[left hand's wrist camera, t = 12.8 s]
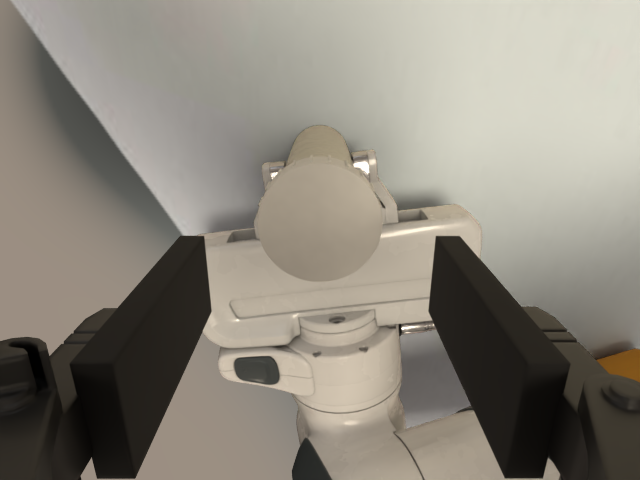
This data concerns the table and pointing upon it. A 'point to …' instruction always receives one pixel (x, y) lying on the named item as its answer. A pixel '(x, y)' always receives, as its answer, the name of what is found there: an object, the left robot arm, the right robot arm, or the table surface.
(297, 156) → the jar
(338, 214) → the lid
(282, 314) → the right robot arm
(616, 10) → the table surface
